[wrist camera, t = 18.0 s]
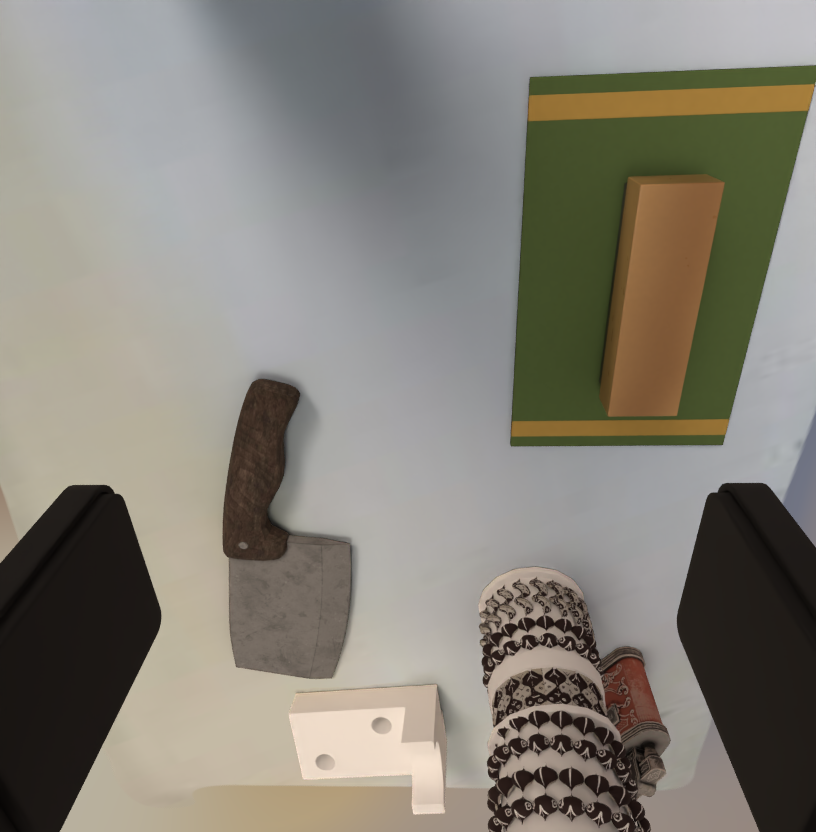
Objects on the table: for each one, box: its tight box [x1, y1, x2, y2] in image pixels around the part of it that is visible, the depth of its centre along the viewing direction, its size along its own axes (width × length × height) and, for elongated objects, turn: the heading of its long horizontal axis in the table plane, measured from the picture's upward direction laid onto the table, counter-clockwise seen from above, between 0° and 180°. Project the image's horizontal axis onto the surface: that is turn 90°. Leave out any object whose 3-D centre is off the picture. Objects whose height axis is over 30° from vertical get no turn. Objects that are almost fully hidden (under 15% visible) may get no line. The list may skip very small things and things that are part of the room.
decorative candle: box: [478, 567, 651, 832], centre depth 39 cm, size 9×9×25 cm
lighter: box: [600, 647, 671, 799], centre depth 49 cm, size 8×3×10 cm, turn 157°
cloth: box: [510, 66, 816, 446], centre depth 36 cm, size 22×14×1 cm, turn 2°
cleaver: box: [223, 379, 351, 679], centre depth 47 cm, size 29×10×2 cm, turn 174°
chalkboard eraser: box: [599, 174, 725, 417], centre depth 35 cm, size 4×13×4 cm, turn 2°
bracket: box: [289, 684, 447, 814], centre depth 54 cm, size 13×7×8 cm, turn 99°
